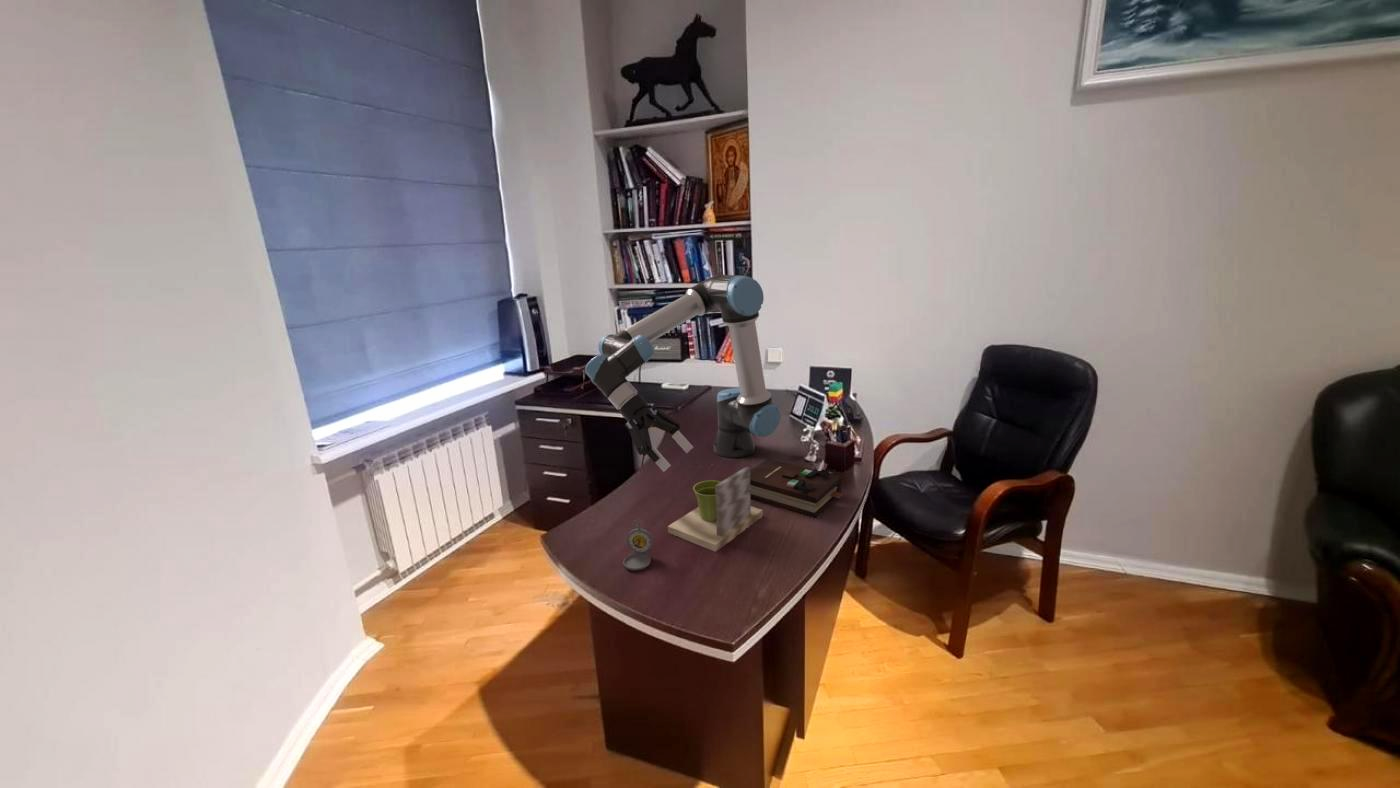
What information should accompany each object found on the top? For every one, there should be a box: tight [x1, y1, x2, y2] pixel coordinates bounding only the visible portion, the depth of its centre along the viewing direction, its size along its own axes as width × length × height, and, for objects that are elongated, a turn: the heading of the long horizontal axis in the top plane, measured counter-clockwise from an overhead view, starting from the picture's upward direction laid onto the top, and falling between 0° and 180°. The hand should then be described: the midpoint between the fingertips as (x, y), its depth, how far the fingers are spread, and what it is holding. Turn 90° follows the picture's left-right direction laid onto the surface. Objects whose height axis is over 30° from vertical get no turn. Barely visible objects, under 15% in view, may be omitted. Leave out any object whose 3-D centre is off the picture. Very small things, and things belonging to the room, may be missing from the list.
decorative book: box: [750, 457, 845, 519], centre depth 163 cm, size 19×8×30 cm
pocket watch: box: [622, 519, 654, 571], centre depth 133 cm, size 8×8×10 cm
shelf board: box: [667, 466, 764, 553], centre depth 147 cm, size 22×16×16 cm
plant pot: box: [692, 479, 721, 521], centre depth 149 cm, size 9×9×9 cm
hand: (679, 459), depth 149 cm, fingers open, 13 cm apart
